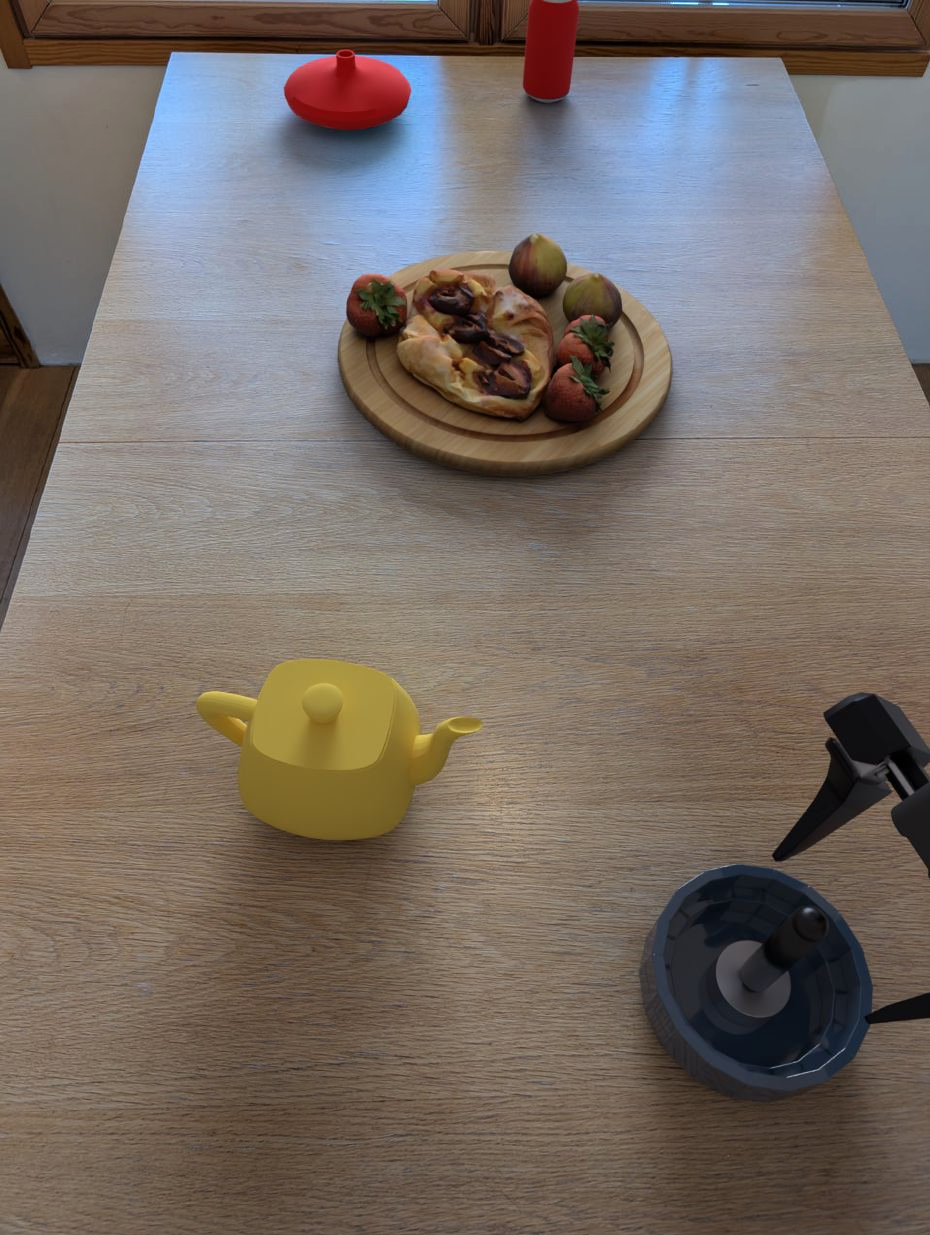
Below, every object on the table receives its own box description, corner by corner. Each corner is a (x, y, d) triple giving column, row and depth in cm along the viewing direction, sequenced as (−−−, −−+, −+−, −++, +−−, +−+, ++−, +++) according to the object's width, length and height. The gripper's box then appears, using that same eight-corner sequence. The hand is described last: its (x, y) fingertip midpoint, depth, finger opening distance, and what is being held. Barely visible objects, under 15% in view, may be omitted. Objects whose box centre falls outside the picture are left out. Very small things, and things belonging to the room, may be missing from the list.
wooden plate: (274, 413, 86) (261, 338, 79) (428, 237, 103) (428, 163, 96) (602, 531, 79) (618, 461, 72) (708, 321, 96) (729, 248, 89)
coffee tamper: (717, 939, 58) (781, 861, 48) (786, 969, 57) (868, 896, 47) (698, 1006, 56) (761, 940, 45) (770, 1039, 55) (852, 979, 44)
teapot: (485, 729, 67) (494, 646, 59) (463, 877, 61) (469, 807, 52) (241, 694, 68) (214, 607, 60) (194, 836, 62) (156, 761, 53)
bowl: (848, 925, 60) (878, 899, 56) (833, 1137, 53) (865, 1125, 49) (658, 866, 62) (674, 837, 58) (618, 1063, 55) (633, 1046, 51)
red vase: (392, 154, 113) (390, 93, 107) (268, 134, 115) (260, 73, 109) (425, 94, 122) (425, 35, 116) (310, 76, 124) (304, 17, 118)
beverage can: (573, 106, 122) (586, 2, 112) (526, 107, 121) (534, 3, 111) (563, 83, 125) (575, -19, 115) (518, 84, 124) (526, -18, 115)
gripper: (929, 596, 44) (669, 773, 50) (1246, 991, 34) (869, 1147, 40) (986, 645, 52) (756, 791, 58) (1254, 974, 42) (940, 1107, 48)
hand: (819, 935), depth 51 cm, fingers open, 9 cm apart
